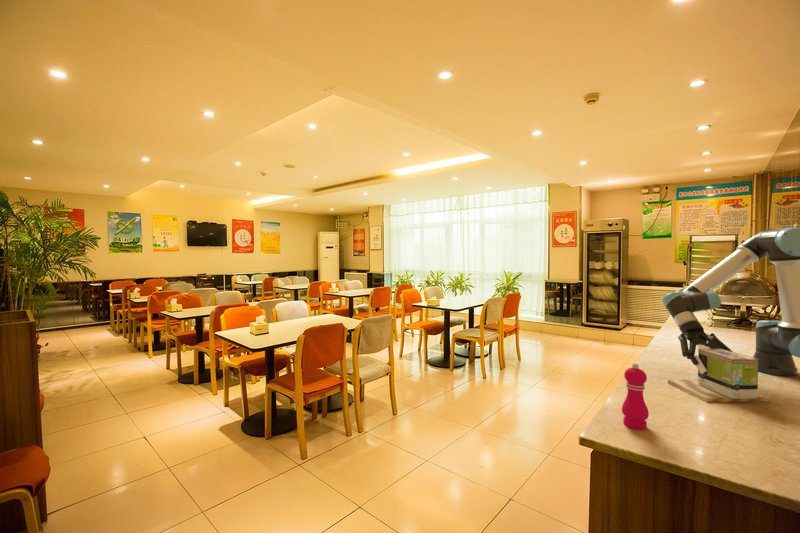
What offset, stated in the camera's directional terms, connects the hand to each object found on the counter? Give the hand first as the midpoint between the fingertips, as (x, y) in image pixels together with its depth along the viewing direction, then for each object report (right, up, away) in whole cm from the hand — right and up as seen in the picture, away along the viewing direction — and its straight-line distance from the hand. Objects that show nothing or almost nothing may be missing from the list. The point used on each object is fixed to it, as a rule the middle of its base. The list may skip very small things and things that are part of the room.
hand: (719, 372), depth 139 cm
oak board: (0, -8, +2) cm, 9 cm away
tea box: (+1, -7, -2) cm, 7 cm away
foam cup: (+22, -7, +30) cm, 38 cm away
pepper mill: (-49, -10, -24) cm, 55 cm away
